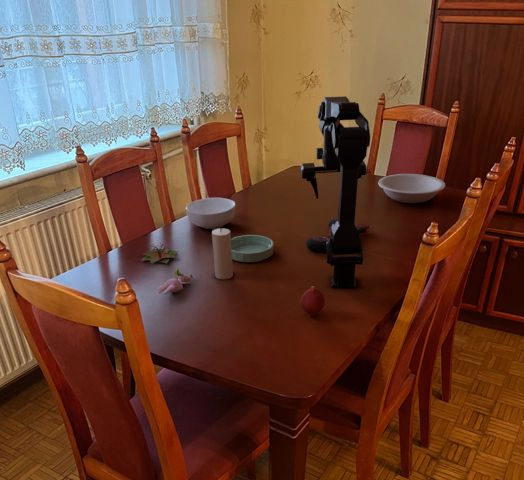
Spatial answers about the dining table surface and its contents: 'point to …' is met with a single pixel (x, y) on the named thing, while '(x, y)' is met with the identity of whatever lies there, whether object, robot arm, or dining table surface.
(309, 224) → the dining table surface
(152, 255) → the lily flower
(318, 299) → the onion
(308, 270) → the dining table surface
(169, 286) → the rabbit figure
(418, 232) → the dining table surface
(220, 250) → the candle
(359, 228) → the toy motorcycle
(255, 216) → the dining table surface
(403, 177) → the soup bowl
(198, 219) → the cereal bowl
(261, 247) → the candle dish
